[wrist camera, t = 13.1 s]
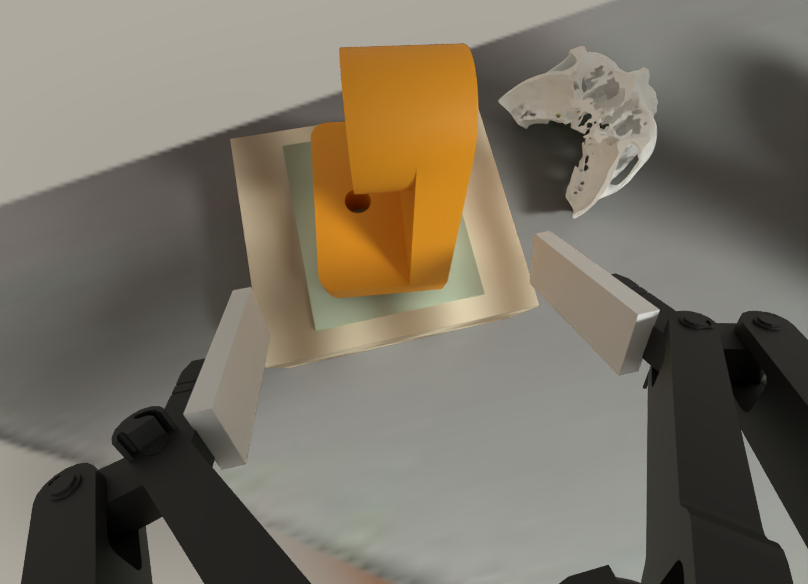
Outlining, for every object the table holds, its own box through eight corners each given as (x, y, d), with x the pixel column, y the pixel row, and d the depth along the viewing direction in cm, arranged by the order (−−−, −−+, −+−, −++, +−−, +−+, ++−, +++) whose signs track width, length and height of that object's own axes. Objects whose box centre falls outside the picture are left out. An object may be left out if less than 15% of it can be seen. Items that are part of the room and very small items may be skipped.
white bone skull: (699, 158, 30) (703, 138, 23) (597, 219, 36) (574, 219, 28) (619, 51, 32) (599, 1, 25) (534, 123, 38) (497, 100, 30)
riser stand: (459, 148, 33) (477, 96, 26) (508, 318, 30) (541, 304, 23) (259, 182, 31) (227, 135, 24) (288, 367, 28) (261, 367, 21)
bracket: (317, 149, 25) (259, -49, 13) (421, 143, 25) (455, -51, 14) (326, 302, 22) (266, 228, 11) (439, 291, 23) (499, 211, 11)
